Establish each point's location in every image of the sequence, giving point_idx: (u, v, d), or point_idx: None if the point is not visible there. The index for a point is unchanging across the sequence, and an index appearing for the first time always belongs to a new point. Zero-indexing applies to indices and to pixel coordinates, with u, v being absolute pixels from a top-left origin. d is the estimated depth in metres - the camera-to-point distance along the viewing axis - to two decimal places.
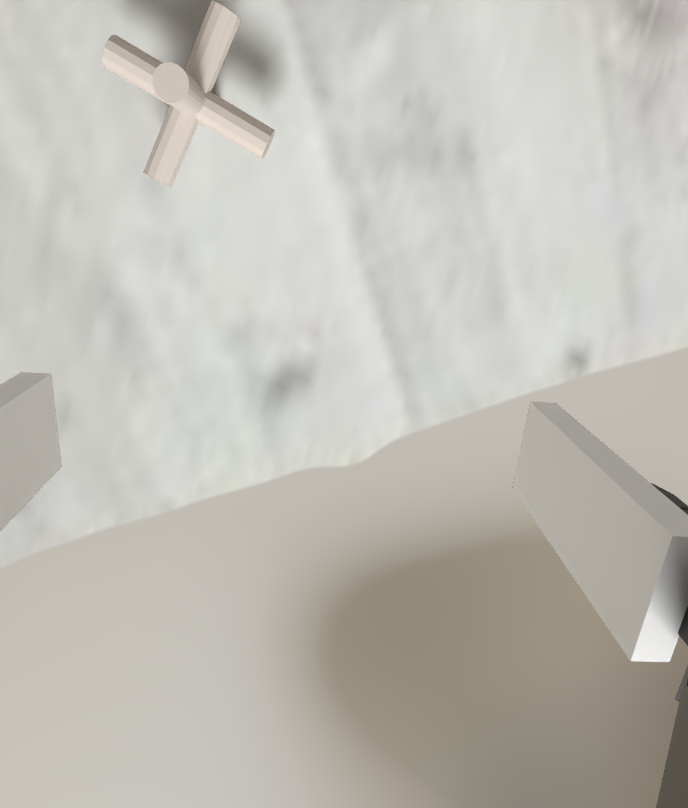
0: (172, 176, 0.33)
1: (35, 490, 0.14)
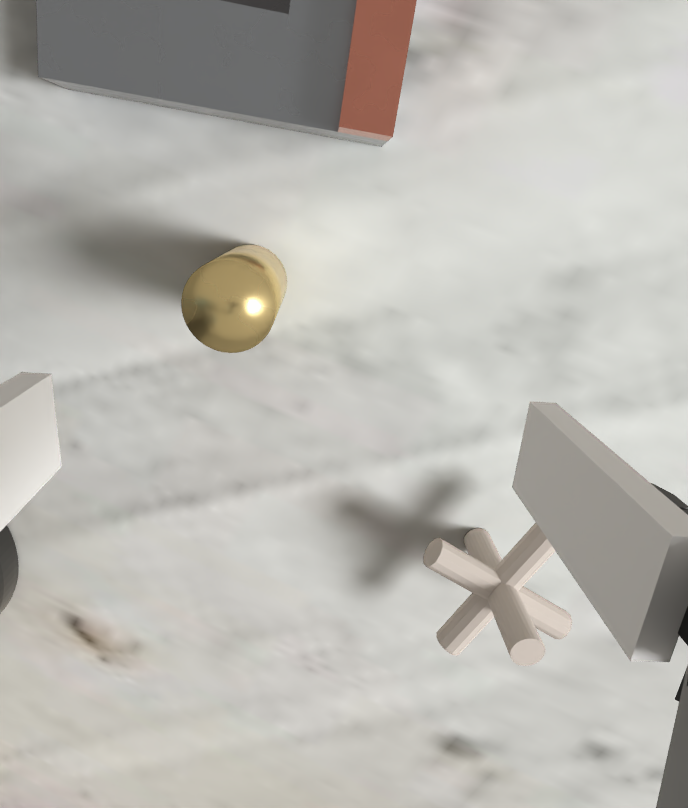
0: (564, 616, 0.33)
1: (35, 490, 0.14)
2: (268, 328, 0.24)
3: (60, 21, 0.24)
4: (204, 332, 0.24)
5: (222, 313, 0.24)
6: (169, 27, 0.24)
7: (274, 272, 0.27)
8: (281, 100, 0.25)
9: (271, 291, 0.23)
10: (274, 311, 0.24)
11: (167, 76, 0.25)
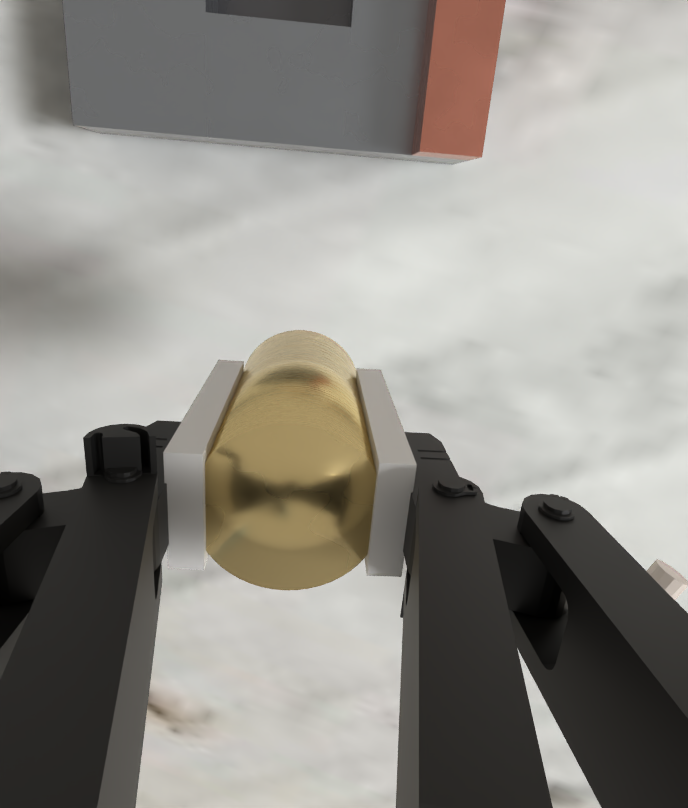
0: None
1: None
2: None
3: (94, 60, 0.21)
4: (243, 560, 0.12)
5: (277, 523, 0.12)
6: (216, 55, 0.21)
7: (355, 399, 0.14)
8: (346, 125, 0.22)
9: (375, 473, 0.11)
10: None
11: (216, 111, 0.22)
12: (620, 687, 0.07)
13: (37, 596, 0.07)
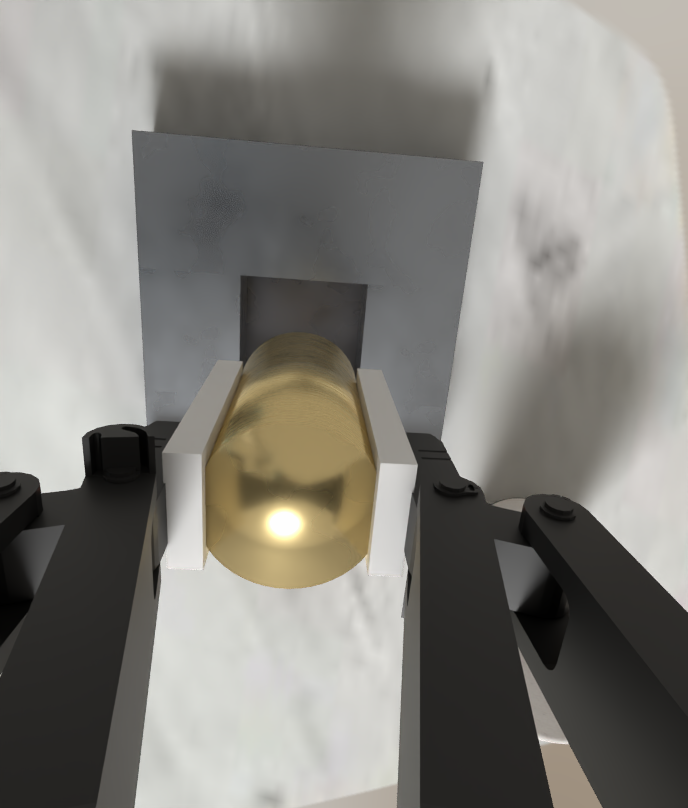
0: None
1: None
2: None
3: (192, 163, 0.22)
4: (246, 560, 0.12)
5: (279, 522, 0.12)
6: (207, 282, 0.24)
7: (354, 399, 0.15)
8: (164, 393, 0.25)
9: (375, 471, 0.11)
10: None
11: (162, 279, 0.23)
12: (621, 687, 0.07)
13: (36, 596, 0.07)
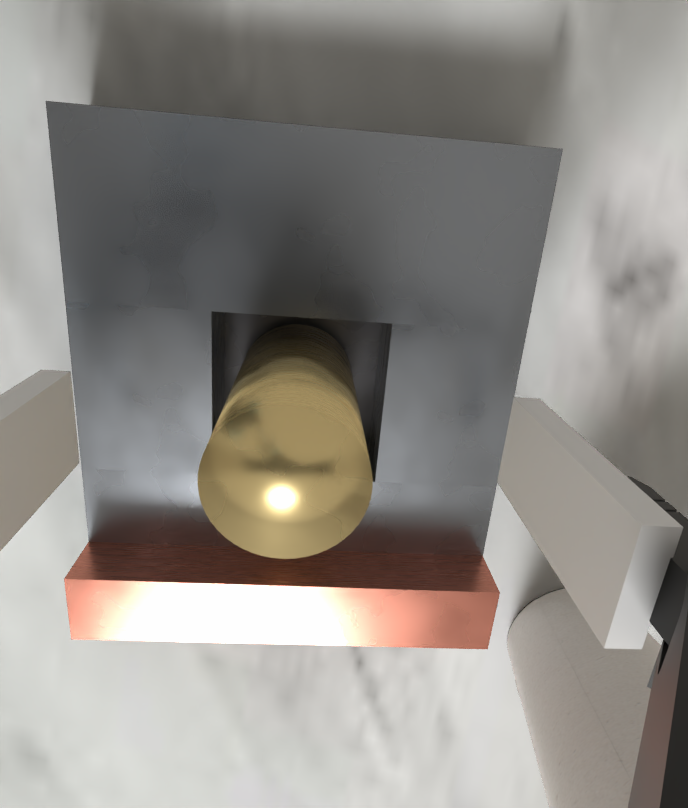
0: None
1: (55, 485, 0.14)
2: (361, 511, 0.13)
3: (137, 150, 0.15)
4: (245, 532, 0.13)
5: (275, 496, 0.13)
6: (165, 321, 0.17)
7: (346, 385, 0.16)
8: (108, 471, 0.18)
9: (363, 449, 0.12)
10: (370, 482, 0.13)
11: (100, 317, 0.16)
12: None
13: None
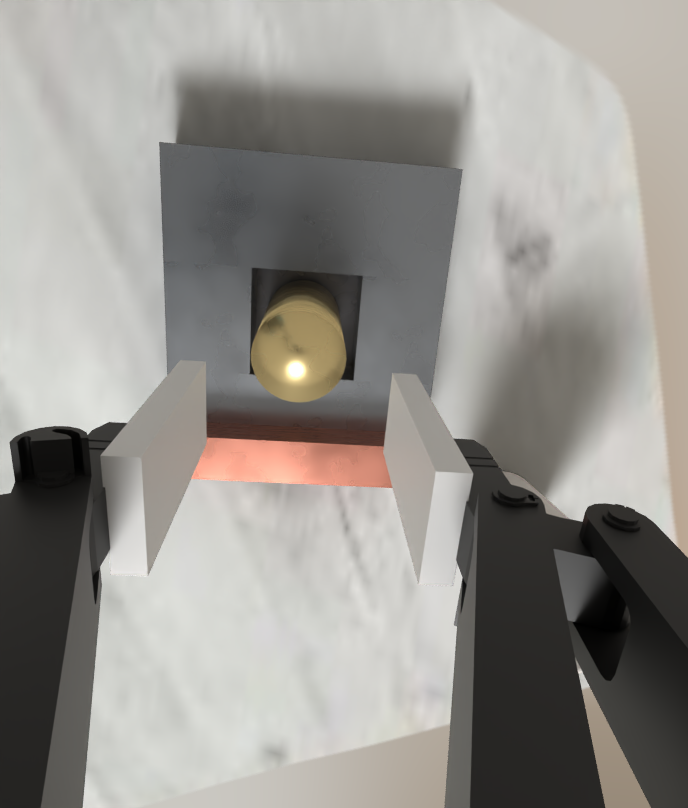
0: None
1: (196, 462, 0.16)
2: (340, 374, 0.23)
3: (211, 170, 0.25)
4: (276, 385, 0.23)
5: (293, 364, 0.23)
6: (223, 273, 0.27)
7: (334, 311, 0.26)
8: None
9: (341, 337, 0.23)
10: (345, 357, 0.23)
11: (183, 271, 0.27)
12: (683, 701, 0.07)
13: None
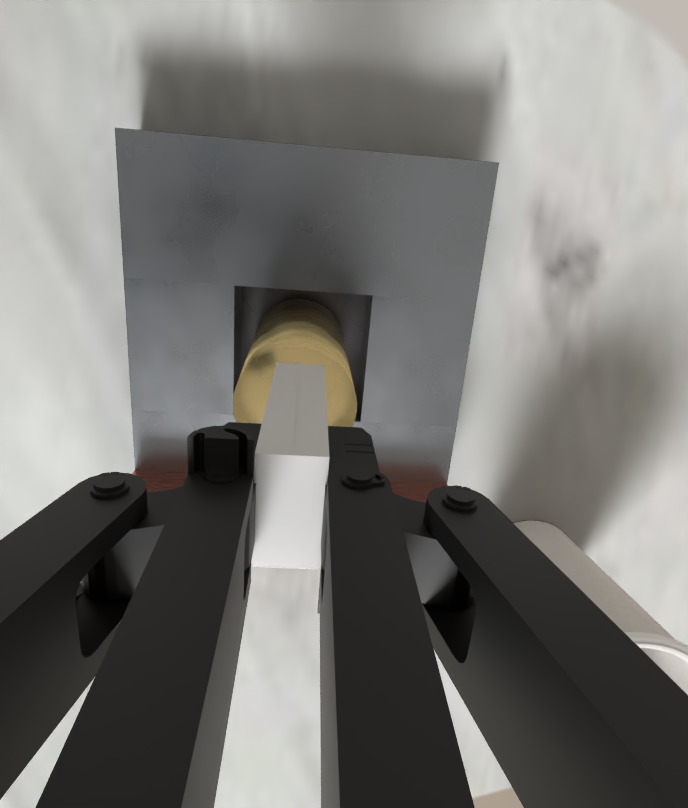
0: None
1: None
2: None
3: (181, 164, 0.20)
4: None
5: None
6: (198, 293, 0.22)
7: (340, 343, 0.21)
8: (152, 412, 0.23)
9: (351, 382, 0.18)
10: (355, 407, 0.18)
11: (149, 290, 0.22)
12: (528, 676, 0.07)
13: (137, 588, 0.07)
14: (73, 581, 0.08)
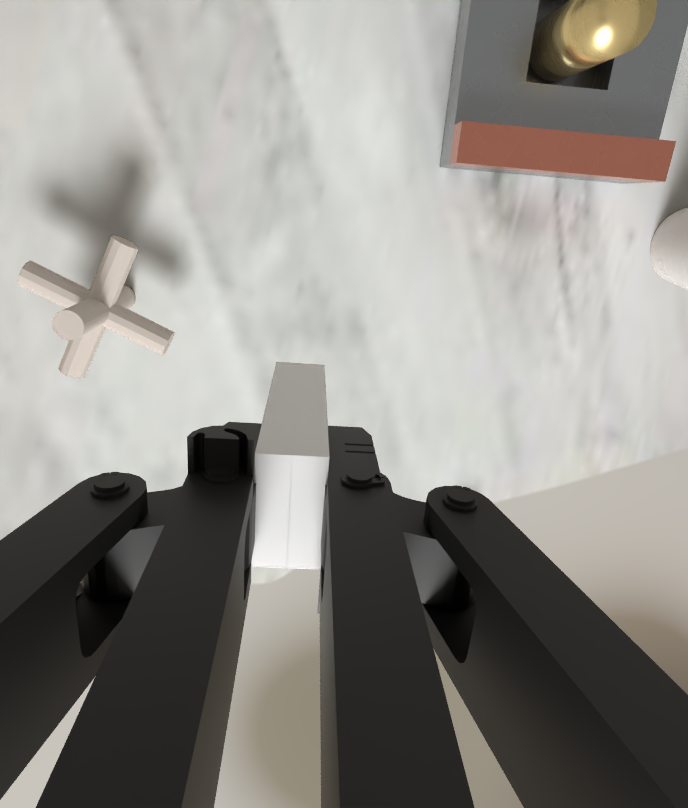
0: (84, 371, 0.38)
1: None
2: (647, 31, 0.30)
3: None
4: (597, 36, 0.30)
5: (614, 17, 0.30)
6: None
7: None
8: (473, 78, 0.35)
9: None
10: (654, 15, 0.30)
11: None
12: (528, 676, 0.07)
13: (137, 588, 0.07)
14: (73, 581, 0.08)
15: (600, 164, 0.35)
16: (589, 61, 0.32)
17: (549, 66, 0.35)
